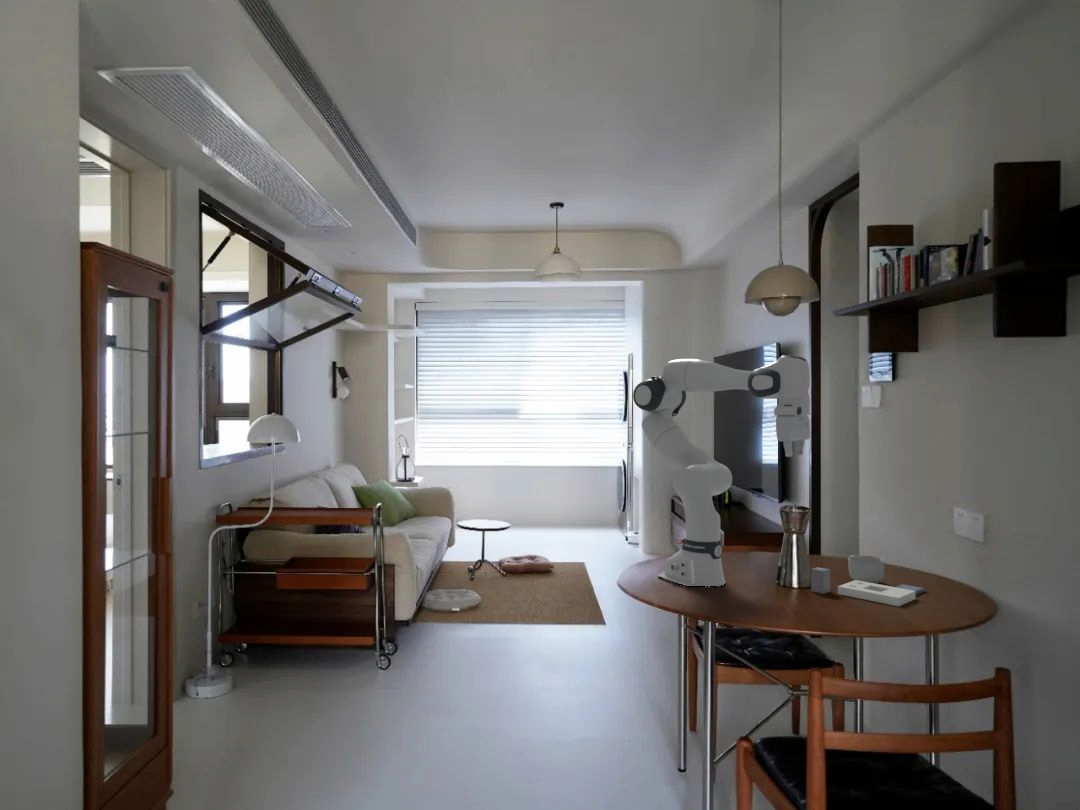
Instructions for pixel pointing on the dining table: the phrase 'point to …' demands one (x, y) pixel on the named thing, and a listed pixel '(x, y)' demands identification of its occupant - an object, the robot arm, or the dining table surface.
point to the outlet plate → (877, 592)
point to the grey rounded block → (866, 568)
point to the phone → (912, 588)
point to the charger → (820, 580)
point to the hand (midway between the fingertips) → (794, 455)
